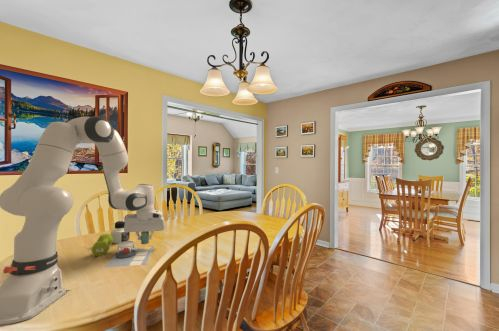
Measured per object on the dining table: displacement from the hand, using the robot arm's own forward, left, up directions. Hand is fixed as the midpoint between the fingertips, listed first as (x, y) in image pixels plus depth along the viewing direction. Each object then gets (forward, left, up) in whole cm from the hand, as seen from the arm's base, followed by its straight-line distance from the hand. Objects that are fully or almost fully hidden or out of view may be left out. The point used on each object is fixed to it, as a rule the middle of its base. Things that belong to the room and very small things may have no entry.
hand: (144, 239), depth 128 cm
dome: (-7, +8, -3) cm, 11 cm away
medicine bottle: (+17, +17, -6) cm, 25 cm away
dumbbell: (+3, +21, -7) cm, 22 cm away
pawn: (0, 0, -2) cm, 2 cm away
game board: (-9, +4, -6) cm, 12 cm away
